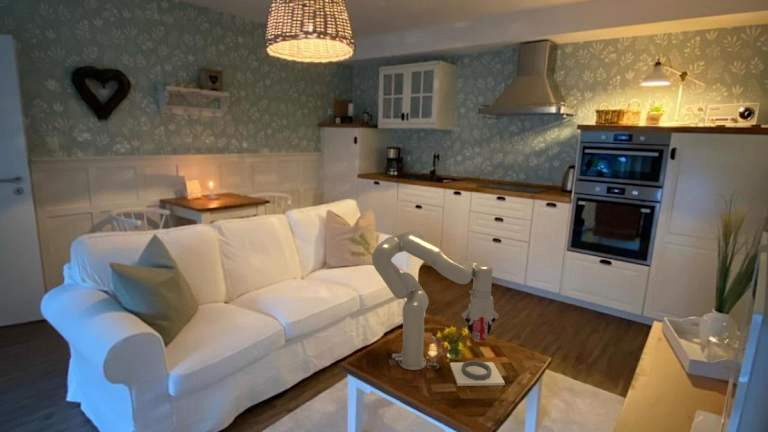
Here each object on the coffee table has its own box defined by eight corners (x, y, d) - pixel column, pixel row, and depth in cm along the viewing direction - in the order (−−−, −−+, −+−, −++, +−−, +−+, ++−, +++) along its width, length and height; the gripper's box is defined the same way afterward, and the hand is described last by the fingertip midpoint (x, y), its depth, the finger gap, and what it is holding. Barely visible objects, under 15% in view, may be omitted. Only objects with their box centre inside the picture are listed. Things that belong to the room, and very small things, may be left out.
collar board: (457, 385, 170) (458, 378, 170) (449, 364, 186) (450, 358, 185) (504, 385, 171) (505, 378, 171) (492, 364, 187) (493, 358, 186)
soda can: (485, 335, 179) (487, 309, 176) (488, 343, 172) (489, 316, 169) (469, 334, 179) (470, 309, 177) (471, 342, 172) (472, 315, 170)
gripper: (463, 296, 167) (461, 336, 171) (504, 296, 168) (501, 336, 172) (459, 289, 175) (457, 328, 178) (499, 289, 176) (496, 327, 179)
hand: (479, 331), depth 175 cm, fingers closed on soda can, 6 cm apart
